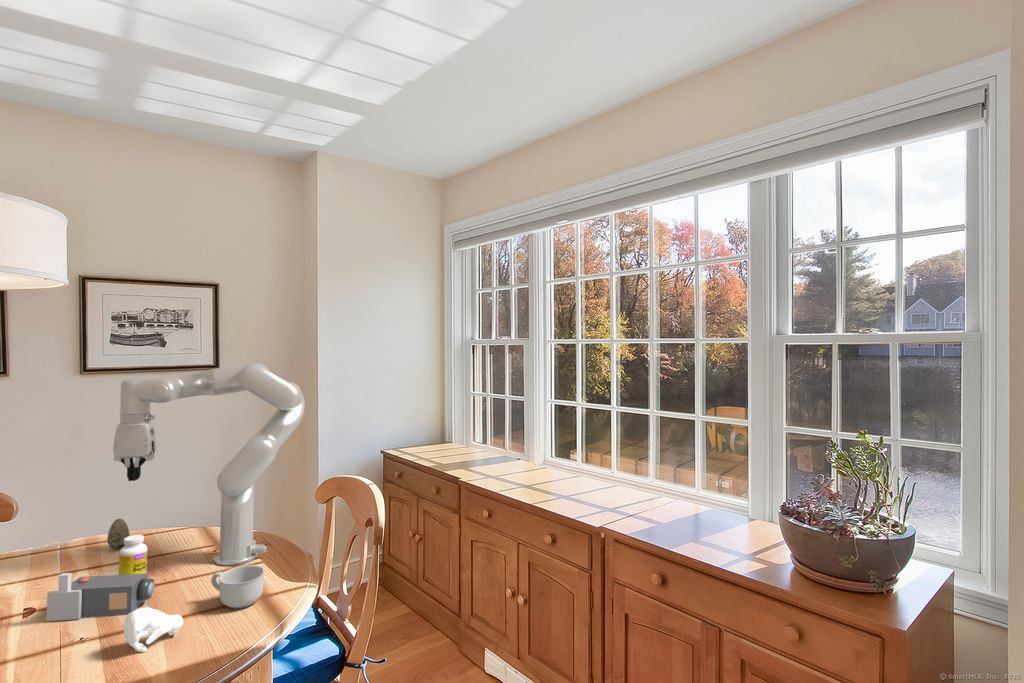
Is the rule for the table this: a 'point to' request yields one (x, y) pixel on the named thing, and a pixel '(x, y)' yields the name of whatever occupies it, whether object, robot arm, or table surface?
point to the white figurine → (149, 626)
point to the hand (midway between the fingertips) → (133, 479)
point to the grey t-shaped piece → (64, 601)
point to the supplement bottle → (133, 556)
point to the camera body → (113, 593)
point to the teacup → (240, 585)
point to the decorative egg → (118, 534)
